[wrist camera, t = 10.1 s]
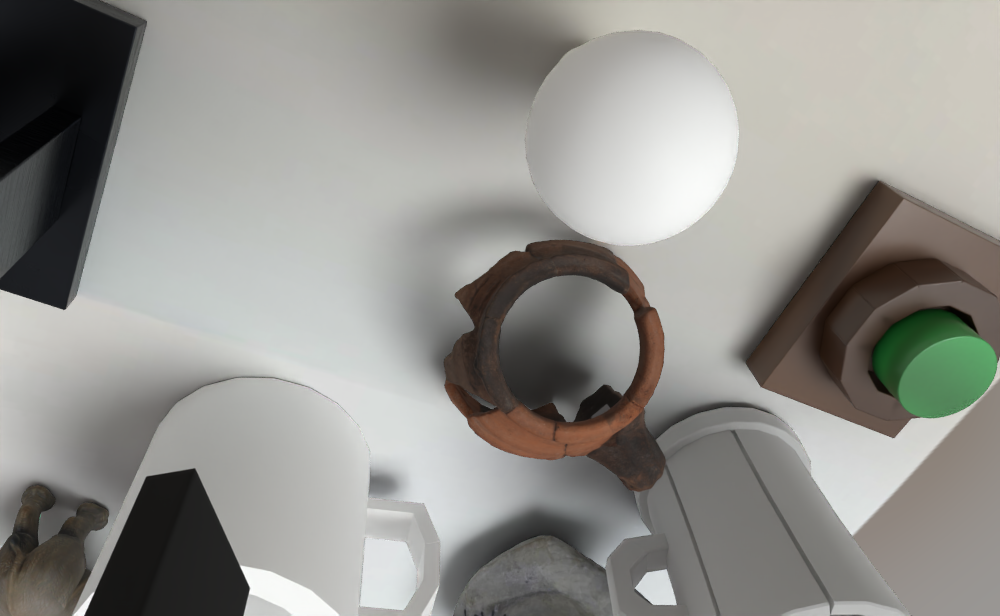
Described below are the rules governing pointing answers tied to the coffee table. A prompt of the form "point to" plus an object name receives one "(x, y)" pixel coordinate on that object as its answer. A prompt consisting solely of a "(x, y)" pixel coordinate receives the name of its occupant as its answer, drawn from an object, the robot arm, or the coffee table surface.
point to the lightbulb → (632, 137)
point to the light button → (934, 363)
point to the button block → (877, 305)
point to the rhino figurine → (46, 559)
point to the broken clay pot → (543, 431)
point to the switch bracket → (58, 135)
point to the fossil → (538, 583)
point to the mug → (285, 497)
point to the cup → (744, 529)
